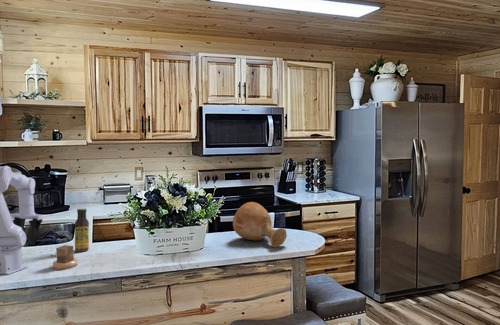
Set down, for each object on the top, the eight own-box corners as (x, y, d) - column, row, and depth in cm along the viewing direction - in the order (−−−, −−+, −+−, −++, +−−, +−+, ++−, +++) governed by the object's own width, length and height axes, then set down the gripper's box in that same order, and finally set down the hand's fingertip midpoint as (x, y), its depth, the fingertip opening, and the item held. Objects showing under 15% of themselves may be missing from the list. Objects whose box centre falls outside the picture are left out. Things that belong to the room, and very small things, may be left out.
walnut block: (65, 263, 161) (64, 248, 160) (57, 262, 162) (56, 248, 162) (73, 260, 165) (73, 245, 165) (65, 259, 167) (64, 245, 166)
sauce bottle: (74, 253, 182) (72, 210, 181) (74, 249, 188) (73, 208, 187) (90, 251, 185) (88, 209, 183) (89, 248, 190) (88, 207, 189)
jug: (261, 210, 216) (301, 225, 194) (243, 240, 211) (282, 259, 189) (239, 192, 204) (279, 205, 182) (220, 223, 199) (259, 242, 177)
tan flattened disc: (66, 270, 158) (65, 265, 158) (48, 268, 161) (47, 263, 160) (81, 263, 167) (81, 258, 166) (64, 261, 169) (64, 257, 169)
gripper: (46, 203, 176) (48, 233, 177) (21, 202, 180) (22, 232, 181) (33, 206, 169) (35, 237, 170) (7, 205, 173) (9, 235, 174)
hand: (28, 235), depth 175 cm, fingers open, 7 cm apart
